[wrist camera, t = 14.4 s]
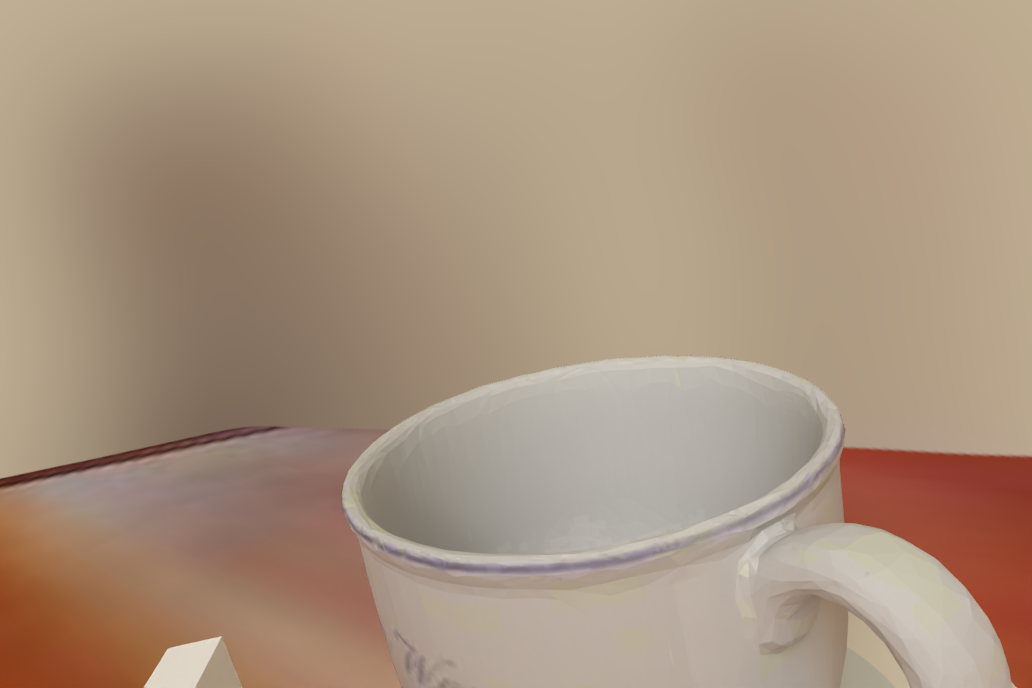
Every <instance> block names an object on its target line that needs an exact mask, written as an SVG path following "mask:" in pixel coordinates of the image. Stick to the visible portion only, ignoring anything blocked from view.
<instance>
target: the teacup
mask: <svg viewBox="0 0 1032 688" xmlns="http://www.w3.org/2000/svg"><path fill="white" fill-rule="evenodd" d="M844 437H845V428H844V424H843V421H842V418H841V414H840V412H839V409H838V407H837V406H836V404H835V403H834V402H833V400H832V399H831V398H830V397H829V396H828V395H827V394H826V393H825V392H823V390H821V389H819V388H817V387H816V386H815V385H813V384H812V383H810V382H809V381H807V380H805V379H803V378H801V377H798V376H796V375H793V374H791V373H788V372H785V371H783V370H780V369H776V368H773V367H769V366H766V365H762V364H758V363H754V362H749V361H742V360H732V359H726V358H720V357H702V356H686V357H679V356H650V357H636V358H619V359H609V360H600V361H594V362H587V363H580V364H575V365H569V366H563V367H557V368H551V369H547V370H544V371H541V372H537V373H532V374H527V375H522V376H518V377H514V378H511V379H508V380H504V381H499V382H495V383H490V384H487V385H483V386H480V387H477V388H473V389H472V390H470V391H468V392H465V393H463V394H460V395H457V396H455V397H452V398H450V399H447V400H445V401H442V402H440V403H437V404H435V405H432V406H430V407H428V408H426V409H424V410H423V411H421V412H419V413H417V414H415V415H413V416H411V417H410V418H408V419H406V420H404V421H402V422H401V423H400V424H398V425H397V426H395V427H393V428H392V429H391V430H389V431H388V432H387V433H385V434H383V435H382V436H381V437H379V438H378V439H377V440H375V441H374V442H373V443H372V444H371V445H370V446H369V447H368V448H367V449H366V450H365V451H364V452H363V453H362V454H361V455H360V456H359V458H358V459H357V461H356V462H355V463H354V464H353V465H352V467H351V468H350V469H349V471H348V474H347V477H346V478H345V481H344V485H343V491H342V509H343V512H344V514H345V517H346V519H347V521H348V524H349V526H350V528H351V529H352V530H353V532H354V533H355V534H356V536H357V537H358V540H359V544H360V548H361V552H362V556H363V560H364V564H365V568H366V572H367V576H368V579H369V583H370V587H371V590H372V594H373V598H374V601H375V605H376V608H377V612H378V616H379V619H380V623H381V626H382V630H383V633H384V636H385V639H386V642H387V645H388V648H389V651H390V654H391V658H392V661H393V664H394V667H395V670H396V673H397V676H398V678H399V681H400V684H401V686H402V688H839V687H840V683H841V678H842V673H843V668H844V662H845V657H846V651H847V634H848V611H849V612H851V613H852V614H854V615H855V616H857V617H858V618H859V619H861V620H862V621H863V622H864V623H865V624H866V625H867V626H868V627H869V628H870V629H871V630H872V631H873V632H874V633H875V634H876V635H877V636H878V637H879V638H880V639H881V640H882V641H883V642H884V643H885V644H886V646H887V647H888V649H889V650H890V652H891V654H892V655H893V657H894V658H895V660H896V662H897V663H898V665H899V666H900V668H901V669H902V671H903V673H904V674H905V676H906V678H907V680H908V683H909V686H910V688H1012V683H1011V677H1010V670H1009V667H1008V664H1007V661H1006V657H1005V654H1004V651H1003V648H1002V645H1001V642H1000V640H999V638H998V636H997V634H996V632H995V630H994V628H993V626H992V624H991V622H990V620H989V618H988V617H987V616H986V614H985V613H984V612H983V610H982V609H981V608H980V606H979V605H978V604H977V602H976V601H975V600H974V598H973V597H972V596H971V594H970V593H969V592H968V590H967V589H966V588H965V586H964V585H963V584H962V583H960V582H959V581H958V580H957V579H956V578H955V577H954V576H953V575H952V574H951V573H950V572H949V571H948V570H947V569H946V568H945V567H944V566H943V565H942V564H941V563H940V562H939V561H938V560H937V559H936V558H934V557H932V556H931V555H929V554H927V553H926V552H924V551H922V550H921V549H919V548H917V547H916V546H914V545H912V544H911V543H909V542H907V541H906V540H904V539H902V538H900V537H898V536H895V535H893V534H891V533H889V532H887V531H885V530H883V529H878V528H874V527H869V526H865V525H860V524H856V523H844V514H843V502H842V490H841V477H840V465H839V458H840V455H841V453H842V450H843V447H844Z"/></svg>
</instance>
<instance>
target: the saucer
mask: <svg viewBox="0 0 1032 688" xmlns="http://www.w3.org/2000/svg"><path fill="white" fill-rule="evenodd" d="M1011 683H1012V682H1011ZM839 688H910V686H909V683H908V680H907V678H906V676H905V674H904V673H903V671H902V669H901V668H900V666H899V665H898V663H897V662H896V660H895V658H894V657H893V655H892V654H891V652H890V650H889V649H888V647H887V646H886V644H885V643H884V642H883V641H882V640H881V639H880V638H879V637H878V636H877V635H876V634H875V633H874V632H873V631H872V630H871V629H870V628H869V627H868V626H867V625H866V624H865V623H864V622H863V621H862V620H861V619H859V618H858V617H857V616H855V615H854V614H852V613H851V612H849V611H848V634H847V651H846V657H845V662H844V668H843V673H842V678H841V683H840V687H839ZM1012 688H1017V687H1016V686H1015V685H1014V684H1013V683H1012Z"/></svg>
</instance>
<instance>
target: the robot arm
mask: <svg viewBox="0 0 1032 688" xmlns="http://www.w3.org/2000/svg"><path fill="white" fill-rule="evenodd" d="M144 688H242V685H241V683H240V680H239V678H238V675H237V673H236V670H235V668H234V665H233V663H232V660H231V658H230V655H229V653H228V650H227V647H226V645H225V642H224V640H223V637H222V636H220V637H216V638H211V639H207V640H202V641H198V642H194V643H189V644H185V645H180V646H176V647H171V648H168V649H167V651H166V652H165V654H164V656H163V657H162V659H161V660H160V662H159V664H158V665H157V667H156V668H155V670H154V672H153V673H152V675H151V677H150V678H149V680H148V681H147V683H146V685H145V686H144Z"/></svg>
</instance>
